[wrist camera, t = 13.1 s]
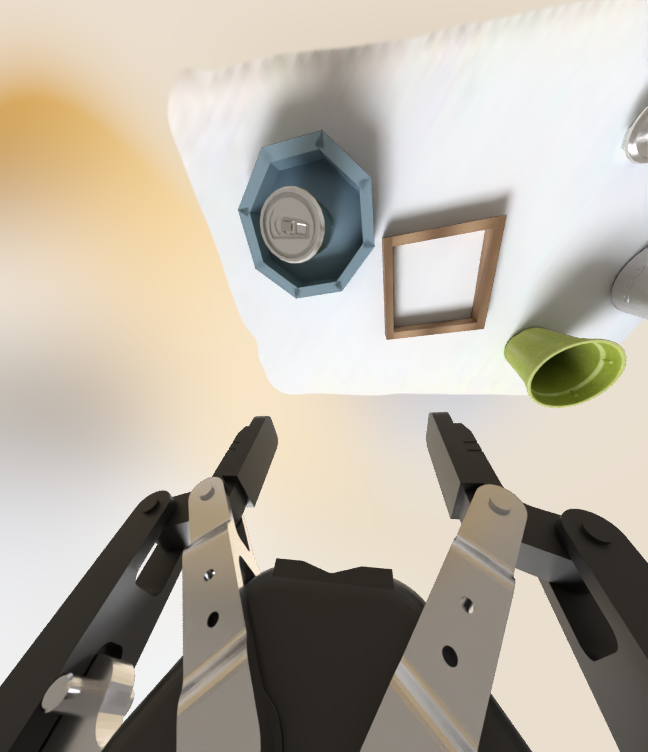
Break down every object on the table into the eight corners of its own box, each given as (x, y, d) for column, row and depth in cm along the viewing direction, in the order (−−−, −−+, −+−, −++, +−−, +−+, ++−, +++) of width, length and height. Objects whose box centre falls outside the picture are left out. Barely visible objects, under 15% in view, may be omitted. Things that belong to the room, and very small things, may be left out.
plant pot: (578, 312, 31) (648, 337, 24) (549, 372, 36) (599, 408, 28) (502, 317, 32) (546, 342, 25) (484, 374, 37) (516, 408, 30)
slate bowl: (365, 134, 24) (368, 116, 20) (373, 279, 31) (376, 285, 28) (241, 169, 27) (222, 158, 23) (275, 295, 34) (265, 303, 30)
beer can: (337, 206, 27) (328, 190, 17) (330, 257, 30) (318, 270, 20) (293, 197, 27) (256, 177, 17) (289, 249, 30) (257, 258, 20)
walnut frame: (496, 216, 26) (506, 215, 25) (477, 323, 33) (483, 328, 31) (382, 238, 29) (383, 238, 27) (385, 334, 35) (386, 339, 34)
